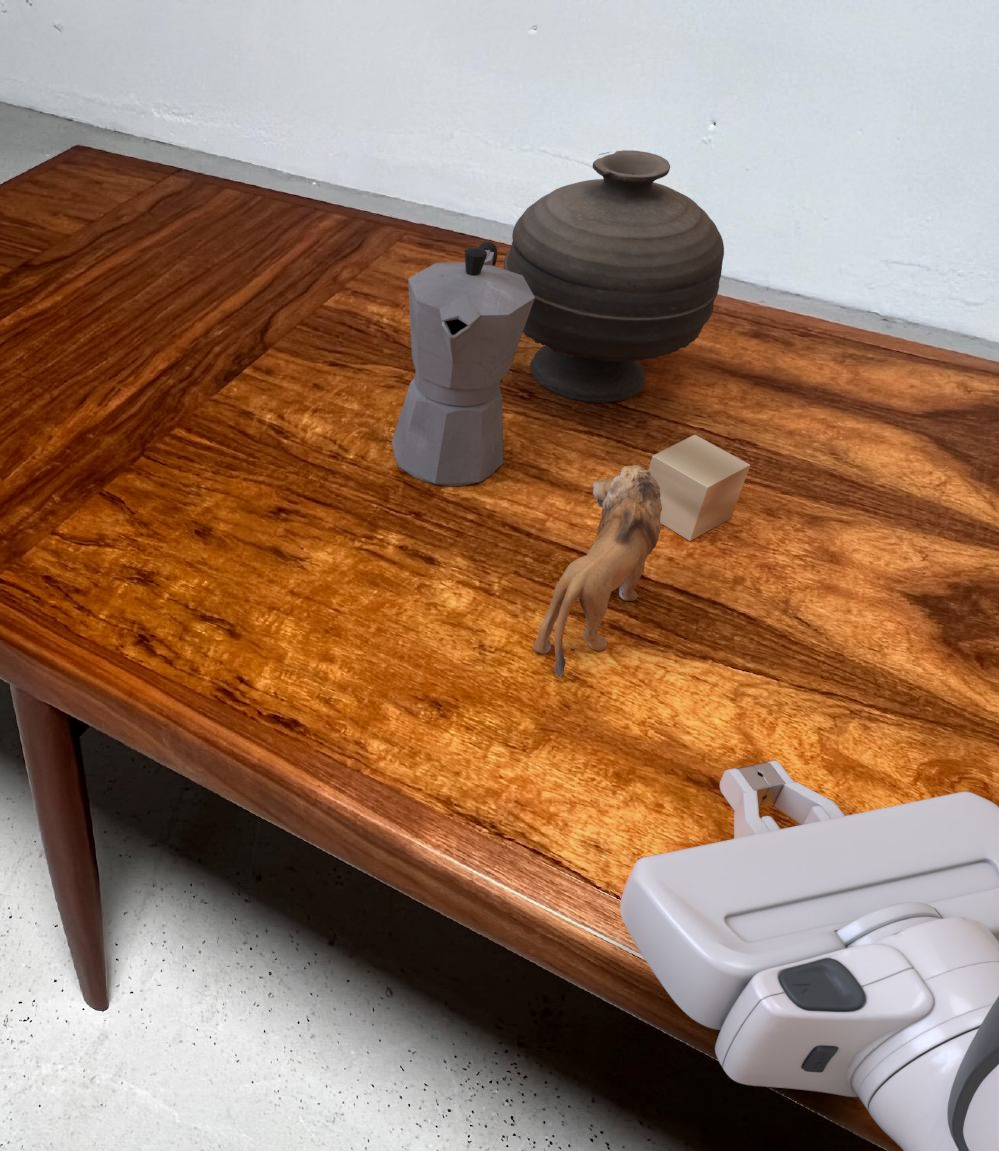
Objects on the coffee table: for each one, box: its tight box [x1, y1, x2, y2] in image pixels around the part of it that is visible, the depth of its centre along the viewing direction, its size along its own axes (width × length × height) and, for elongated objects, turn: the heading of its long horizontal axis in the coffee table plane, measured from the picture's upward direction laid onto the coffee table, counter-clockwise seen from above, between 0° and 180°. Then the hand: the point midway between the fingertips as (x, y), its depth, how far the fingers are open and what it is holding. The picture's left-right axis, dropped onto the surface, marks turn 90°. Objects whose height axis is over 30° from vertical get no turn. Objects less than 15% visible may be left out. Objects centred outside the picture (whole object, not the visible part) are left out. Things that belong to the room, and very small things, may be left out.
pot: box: [503, 149, 725, 404], centre depth 97 cm, size 18×18×20 cm
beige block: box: [647, 434, 751, 542], centre depth 86 cm, size 5×5×5 cm
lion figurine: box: [532, 464, 662, 677], centre depth 75 cm, size 15×5×9 cm, turn 152°
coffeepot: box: [391, 241, 535, 487], centre depth 88 cm, size 15×9×18 cm, turn 160°
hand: (745, 771), depth 61 cm, fingers closed
